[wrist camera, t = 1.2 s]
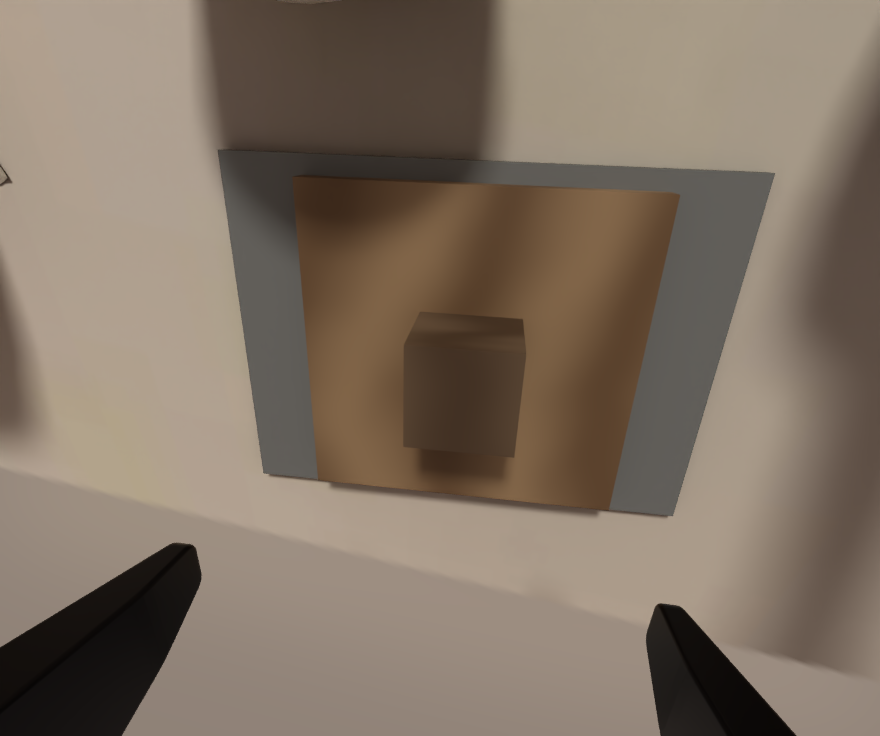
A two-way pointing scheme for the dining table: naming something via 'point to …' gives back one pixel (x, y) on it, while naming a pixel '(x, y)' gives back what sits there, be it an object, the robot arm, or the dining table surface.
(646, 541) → the dining table surface
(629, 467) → the mat
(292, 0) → the lidded jar
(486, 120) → the dining table surface
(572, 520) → the dining table surface
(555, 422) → the lid
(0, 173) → the condiment
